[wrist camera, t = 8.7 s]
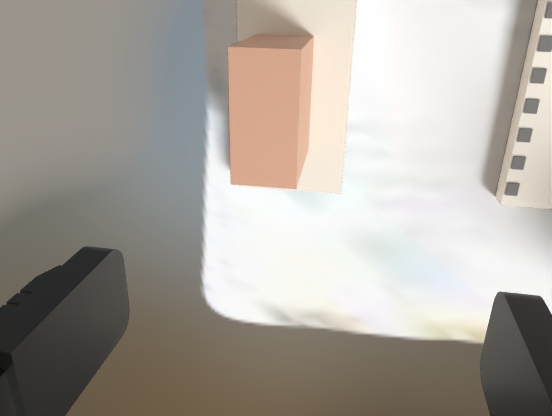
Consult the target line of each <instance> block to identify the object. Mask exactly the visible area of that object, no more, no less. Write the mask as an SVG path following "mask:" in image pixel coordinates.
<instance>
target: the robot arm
mask: <svg viewBox="0 0 552 416" xmlns="http://www.w3.org/2000/svg"><path fill="white" fill-rule="evenodd" d="M128 320H129V300H128V291H127V283H126V275H125V267H124V259H123V256H122V253H121V252H120V251H119V250H116V249H107V248H98V247H87V246H86V247H83V248H82V249H80V250H79V251H78V252H77V253H76V254H75V255H74V256H72V257H71V258H70V259H69V260H68V261H67V262H66V263H65V264H63V265H62V266H60V265H59V266H57V267H55V268H53V269H51V270H49V271H47V272H45V273H43V274H41V275H39V276H37V277H36V278H34V279H33V280H32V281H31V282H30V283H28V284H27V285H26V286H25V287H24V288H23V289H21V291H20V294H19V293H17V294H16V295H14V296H13V297H12V298H11V299H10V300H9V301H7V304H6V305H3V306H2V307H0V416H65V415H66V414H67V412H68V411H69V410H70V408H71V407H72V405H73V404H74V403H75V401H76V400H77V398H78V397H79V396H80V394H81V393H82V392H83V390H84V389H85V387H86V386H87V385H88V383H89V382H90V380H91V379H92V378H93V376H94V375H95V373H96V372H97V371H98V369H99V368H100V367H101V365H102V363H103V362H104V361H105V360H106V358H107V357H108V355H109V354H110V353H111V351H112V350H113V348H114V347H115V346H116V344H117V343H118V342H119V340H120V339H121V337H122V336H123V334H124V332H125V330H126V327H127V324H128ZM480 376H481V383H482V387H483V391H484V395H485V398H486V402H487V405H488V409H489V413H490V416H552V314H551V313H550V311H549V309H548V307H547V305H546V304H545V302H544V300H543V299H542V297H540V296H536V295H527V294H517V293H508V292H498V293H497V295H496V297H495V299H494V303H493V307H492V311H491V315H490V319H489V324H488V328H487V332H486V336H485V341H484V345H483V349H482V354H481V362H480Z"/></svg>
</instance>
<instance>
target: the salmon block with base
mask: <svg viewBox="0 0 552 416" xmlns="http://www.w3.org/2000/svg"><path fill="white" fill-rule="evenodd" d="M356 5H357V0H237V43H235V44H233V45H231V46H229V47H228V72H229V123H230V174H231V184H234V185H239V186H245V187H258V188H271V189H284V190H297V191H310V192H324V193H337V194H341V193H342V181H343V169H344V156H345V144H346V131H347V118H348V106H349V93H350V81H351V68H352V55H353V43H354V30H355V18H356Z"/></svg>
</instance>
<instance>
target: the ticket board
mask: <svg viewBox="0 0 552 416" xmlns="http://www.w3.org/2000/svg"><path fill="white" fill-rule="evenodd" d="M495 197H496V199H497V200H498V202H499V203H500V205H504V206H517V207H530V208H543V209H552V0H538V3H537V8H536V12H535V17H534V21H533V26H532V31H531V35H530V40H529V44H528V49H527V54H526V58H525V63H524V67H523V72H522V77H521V81H520V86H519V90H518V95H517V100H516V104H515V109H514V113H513V118H512V123H511V127H510V132H509V136H508V141H507V146H506V150H505V155H504V159H503V164H502V169H501V173H500V178H499V182H498V187H497V192H496V196H495Z"/></svg>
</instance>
